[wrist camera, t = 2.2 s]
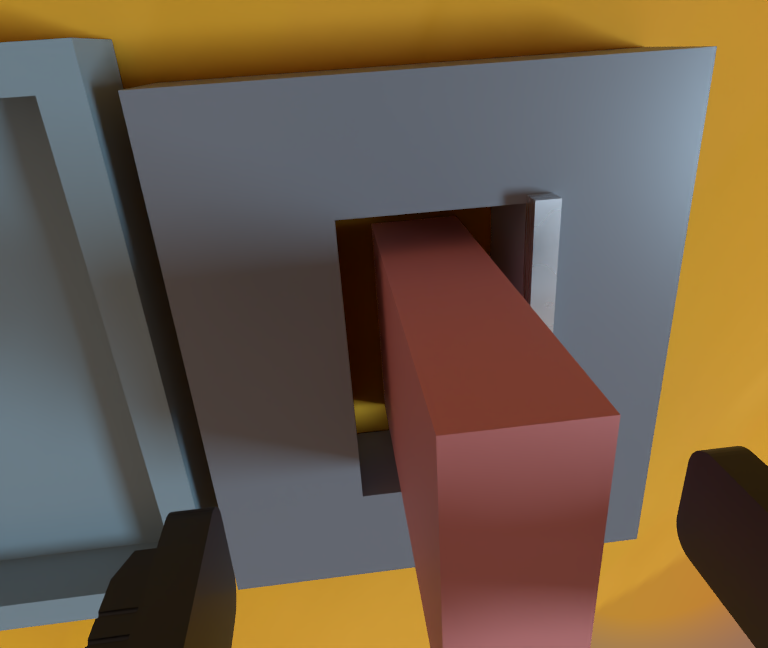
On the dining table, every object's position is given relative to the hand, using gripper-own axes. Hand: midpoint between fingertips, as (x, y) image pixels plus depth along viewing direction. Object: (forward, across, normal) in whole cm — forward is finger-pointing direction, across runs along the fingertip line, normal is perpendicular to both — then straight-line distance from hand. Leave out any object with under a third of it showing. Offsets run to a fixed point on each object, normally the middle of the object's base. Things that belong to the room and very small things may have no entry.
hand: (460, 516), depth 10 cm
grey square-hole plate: (+8, -1, 0) cm, 9 cm away
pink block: (+8, -1, 0) cm, 9 cm away
